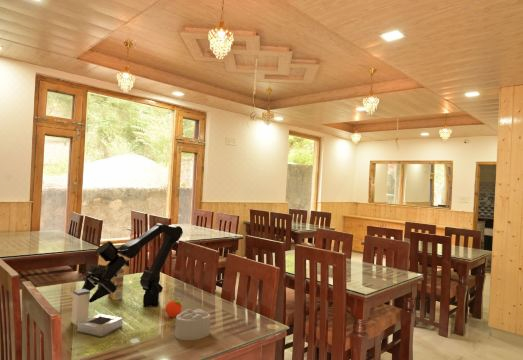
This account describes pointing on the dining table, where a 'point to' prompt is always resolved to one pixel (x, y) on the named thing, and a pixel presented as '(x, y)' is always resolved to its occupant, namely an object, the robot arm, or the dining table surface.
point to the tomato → (173, 308)
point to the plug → (80, 305)
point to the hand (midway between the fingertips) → (84, 299)
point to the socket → (100, 325)
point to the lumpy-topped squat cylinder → (192, 324)
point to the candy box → (118, 285)
